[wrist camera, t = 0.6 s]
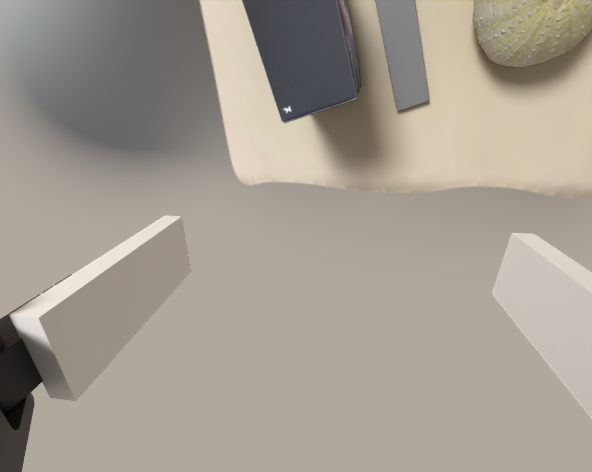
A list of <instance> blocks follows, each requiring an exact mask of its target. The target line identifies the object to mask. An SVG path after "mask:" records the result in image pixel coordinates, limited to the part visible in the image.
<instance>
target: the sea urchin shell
mask: <svg viewBox="0 0 592 472" xmlns="http://www.w3.org/2000/svg"><path fill="white" fill-rule="evenodd" d="M473 17H474V18H473V22H474V27H475V29H476V32H477V39H478V41H479V42H478V44H480V45H481V47H482V48H483V50H484V51H485V53H486V55H487V56H488V58H489V59H490V60H492V61H493V62H495V63H497V64H500V65H506V66H513V67H518V68H519V67H526V66H529V65H532V64H538V63H543V62H546V61H548V60H549V59H551V58H554V57H556V56H559V55H562V54H564V53H566V52H568V51H569V50H571V49H572V48H573V47H575V46H576V45H577V44H578V43H580V42H582V41H583V39H584V37H585V36H586V35H587V34H588V33H589V31H590V30H591V29H592V0H474V14H473Z"/></svg>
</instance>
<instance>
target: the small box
mask: <svg viewBox="0 0 592 472" xmlns="http://www.w3.org/2000/svg"><path fill="white" fill-rule="evenodd" d="M242 2H243V5H244V8H245V10H246V13H247V17H248V20H249V23H250V26H251V29H252V32H253V35H254V38H255V41H256V45H257V47H258V50H259V53H260V56H261V59H262V63H263V65H264V68H265V71H266V75H267V78H268V81H269V84H270V87H271V90H272V93H273V96H274V99H275V102H276V105H277V108H278V111H279V114H280V117H281V120H282V122H284V123H287V122H290V121H293V120H296V119H299V118H302V117H305V116H308V115H311V114H314V113H316V112H320V111H323V110H326V109H329V108H332V107H335V106H338V105H341V104H344V103H347V102H351V101H353V100H356V99H357V97H358V93H359V90H360V87H361V80H360V71H359V65H358V59H357V54H356V49H355V43H354V38H353V32H352V27H351V21H350V17H349V12H348V7H347V2H346V0H242Z"/></svg>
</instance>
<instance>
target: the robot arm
mask: <svg viewBox="0 0 592 472" xmlns="http://www.w3.org/2000/svg"><path fill="white" fill-rule="evenodd" d="M190 272H191V268H190V263H189V256H188V251H187V245H186V239H185V233H184V228H183V221H182V217H181V216H164V217H162V218H161V219H159V220H157V221H156V222H154V223H153V224H151V225H150V226H148V227H146V228H145V229H143V230H142V231H140V232H139V233H137V234H135V235H134V236H132V237H131V238H129V239H127V240H126V241H124V242H123V243H121V244H120V245H118V246H116V247H115V248H113V249H112V250H110V251H109V252H107V253H106V254H104V255H103V256H101V257H99V258H98V259H96V260H94V261H93V262H91V263H90V264H88V265H87V266H85V267H84V268H82V269H81V270H79V271H77V272H76V273H74V274H71V275H69V276H68V277H66V278H65V279H63V280H61V281H60V282H58V283H57V284H55V286H52V287H50V288H49V289H47V290H46V291H44V292H43V294H39V295H38V296H36V297H34V298H33V299H31V300H30V301H28V302H26V303H25V304H23V305H22V306H20V307H19V308H17V309H15V310H14V311H12V312H11V313H9V314H8V315H6V316H5V317H3V318H1V319H0V472H22V467H23V461H24V456H25V450H26V445H27V440H28V435H29V430H30V424H31V419H32V414H33V408H34V398H33V395H32V394H31V392H32V391H33V390H34V388H36V387H37V386H38V385H39V384H40V383H41V382H43V384H44V386H45V388H46V390H47V392H48V394H49V396H50V398H57V399H64V400H71V401H76V400H77V399H78V398H79V397H80V396H81V395H82V394H83V392H84V391H85V390H86V389H87V388H88V387H89V386H90V385H91V384H92V382H93V381H94V380H95V379H96V378H97V377H98V376H99V375H100V373H101V372H102V371H103V370H104V369H105V368H106V367H107V366H108V364H109V363H110V362H111V361H112V360H113V359H114V357H116V355H117V354H118V353H119V352H120V351H121V350H122V349H123V348H124V346H125V345H126V344H127V343H128V342H129V341H130V340H131V338H132V337H133V336H134V335H135V334H136V333H137V332H138V331H139V330H140V329H141V327H142V326H143V325H144V324H145V323H146V322H147V321H148V320H149V318H150V317H151V316H152V315H153V314H154V313H155V312H156V311H157V309H158V308H159V307H160V306H161V305H162V304H163V303H164V302H165V300H166V299H167V298H168V297H169V296H170V295H171V294H172V293H173V291H174V290H175V289H176V288H177V287H178V286H179V285H180V283H181V282H182V281H183V280H184V279H185V278H186V277H187V276H188V275H189V273H190ZM492 295H493V296H494V297H495V299H496V300H497V301H498V302H499V304H500V305H501V306H502V307H503V309H504V310H505V311H506V312H507V314H508V315H509V316H510V317H511V319H512V320H513V321H514V322H515V324H516V325H517V326H518V328H519V329H520V330H521V331H522V332H523V334H524V335H525V336H526V338H527V339H528V340H529V341H530V343H531V344H532V345H533V346H534V347H535V349H536V350H537V351H538V353H539V354H540V355H541V356H542V357H543V359H544V360H545V361H546V363H547V364H548V365H549V366H550V368H551V369H552V370H553V371H554V373H555V374H556V375H557V376H558V378H559V379H560V380H561V381H562V383H563V384H564V385H565V386H566V387H567V389H568V390H569V391H570V393H571V394H572V395H573V396H574V398H575V399H576V400H577V401H578V403H579V404H580V405H581V406H582V408H583V409H584V410H585V411H586V413H587V414H588V415H589V416H590V418H591V419H592V272H590V271H589V270H587V269H586V268H584V267H583V266H581V265H580V264H578V263H577V262H575V261H574V260H572V259H571V258H569V257H568V256H566V255H565V254H563V253H562V252H560V251H559V250H557V249H556V248H554V247H553V246H551V245H549V244H548V243H547V242H545V241H544V240H542V239H541V238H539V237H538V236H536V235H535V234H525V233H512V234H511V237H510V240H509V243H508V246H507V250H506V252H505V255H504V258H503V261H502V264H501V267H500V270H499V274H498V277H497V280H496V283H495V286H494V289H493V292H492Z"/></svg>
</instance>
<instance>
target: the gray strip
mask: <svg viewBox="0 0 592 472" xmlns="http://www.w3.org/2000/svg"><path fill="white" fill-rule="evenodd" d="M375 1H376V6H377V11H378V16H379V21H380V26H381V32H382V37H383V42H384V47H385V52H386V57H387V62H388V67H389V72H390V77H391V82H392V88H393V93H394V98H395V103H396V108H397V111H399V110H402V109H405V108H408V107H411V106H414V105H417V104H420V103H423V102H426V101H429V95H428V89H427V82H426V75H425V68H424V62H423V55H422V48H421V41H420V35H419V28H418V21H417V14H416V8H415V1H414V0H375Z"/></svg>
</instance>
